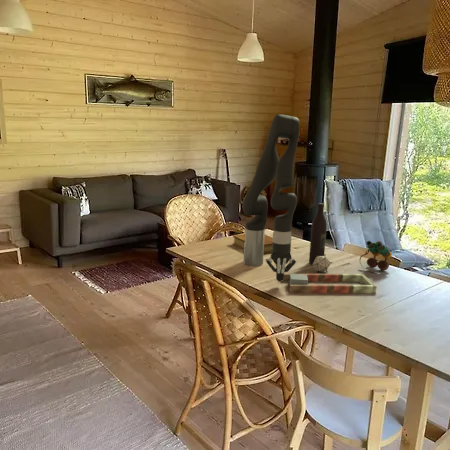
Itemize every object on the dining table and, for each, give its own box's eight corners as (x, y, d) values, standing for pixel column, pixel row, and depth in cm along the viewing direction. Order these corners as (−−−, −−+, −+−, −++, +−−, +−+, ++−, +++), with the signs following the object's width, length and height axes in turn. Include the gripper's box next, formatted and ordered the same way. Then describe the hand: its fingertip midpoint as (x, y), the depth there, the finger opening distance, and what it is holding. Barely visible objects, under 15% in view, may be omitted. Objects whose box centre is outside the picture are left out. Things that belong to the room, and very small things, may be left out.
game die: (323, 280, 206) (332, 268, 198) (306, 272, 207) (314, 260, 199) (327, 266, 212) (336, 254, 204) (311, 259, 213) (319, 246, 205)
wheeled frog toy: (389, 279, 208) (399, 250, 211) (380, 270, 198) (390, 240, 201) (361, 272, 217) (370, 244, 220) (351, 263, 207) (361, 234, 210)
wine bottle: (319, 266, 213) (324, 205, 207) (306, 263, 217) (310, 203, 211) (325, 263, 219) (330, 203, 212) (312, 260, 223) (317, 201, 216)
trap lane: (290, 292, 179) (290, 285, 179) (283, 280, 194) (283, 273, 193) (375, 293, 182) (376, 286, 181) (362, 280, 196) (363, 274, 196)
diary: (284, 252, 239) (284, 241, 237) (254, 256, 230) (255, 245, 228) (260, 241, 258) (260, 231, 257) (232, 244, 249) (232, 235, 248)
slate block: (290, 289, 184) (290, 279, 183) (289, 283, 191) (290, 273, 190) (307, 290, 183) (308, 280, 182) (305, 284, 190) (306, 274, 189)
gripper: (267, 243, 178) (265, 284, 181) (299, 243, 179) (297, 284, 183) (264, 238, 185) (262, 278, 189) (295, 238, 186) (293, 278, 190)
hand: (279, 281), depth 186 cm, fingers closed
